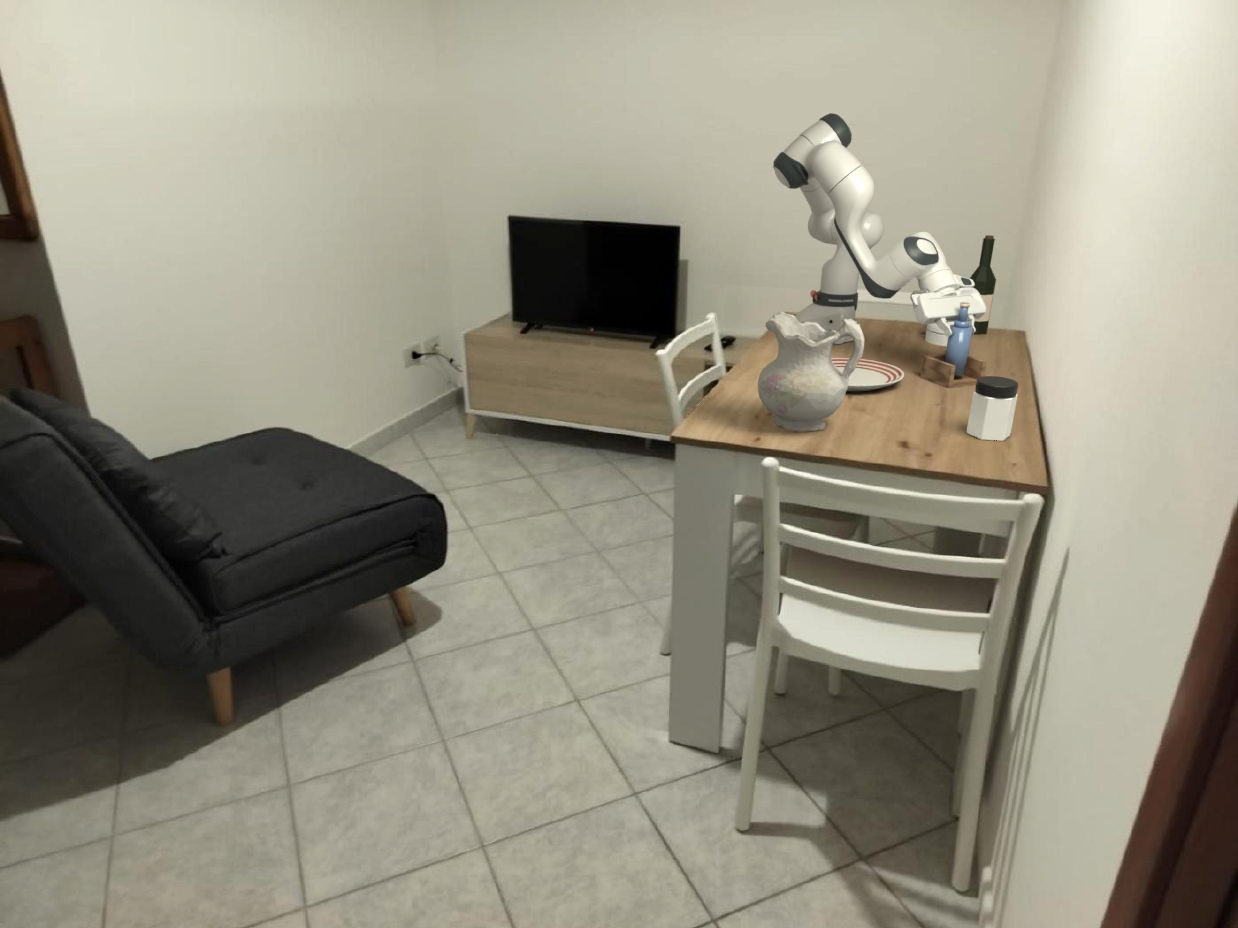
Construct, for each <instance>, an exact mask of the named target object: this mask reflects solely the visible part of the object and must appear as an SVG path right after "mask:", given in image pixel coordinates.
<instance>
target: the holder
mask: <svg viewBox="0 0 1238 928" xmlns="http://www.w3.org/2000/svg"><path fill="white" fill-rule="evenodd" d="M945 355H946V352H944V353H939V354H938V353H937V354H931V355H924V356H922V363H921V370H920V378H921V379H923V380H926V381H928V382H930V383H933V384H936V385H939V386H941V387H944V388H947V389H954V388H959V387H960V386H961V387H967V385H968V386H972V385H973V386H974V384H975V385H976V383H977V379H978V378H980V377H984V376H986V369H987V361H986V360H984V359H983V360H982V359H981V358H976V357H973V356H971V355H968V359H967V365H966V371H965V374H964V375H954V373H955V367H956V366H955V365H952V364H949V363H946V362H944V361H945ZM953 387H954V388H953ZM961 387H960V388H961Z"/></svg>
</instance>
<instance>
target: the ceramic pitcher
mask: <svg viewBox="0 0 1238 928" xmlns="http://www.w3.org/2000/svg"><path fill="white" fill-rule="evenodd" d="M842 321H843V324H842V326H841V327H840V329H839V330H838V331H837V332H836V331H834V330H832V331H825V329H823V328H822V327H821V326H820V325H819V324H818V323H816V322H802V323H800V322H798V320H797V319H796V317H795V315H794V314H789V313H786V312H785V311H781V312H780V311H779V312H777V313H774V314H773V315H772V317H770V318H769V320H767V321H766V323H765V327H766V329H767V330H768V331H770V332H771V333H772V334H773V335H774V336H775V337H776V339H777V340H776V341H777V343H778V344H777V346H778V349H777V350H778V351H777V356H776V358H775V359H774V360H773V361H771V362H769V363H768V364H766V366H764V367H763V368H762V369H761V371H760V373H759V376H758V380H757V392H758V397H759V400H760V401H761V403H762V405H763V406H764V408H765V409H766V410H767V411H768V412H769V413H770V414H772V415H773V423H774V425H775V426H776V427H778V428H780V429H782V430H786V431H790V432H793V433H800V432H803V433H804V432H815V431H821V430H822V431H823V430H824V429H825V427H826V425H827V423H826V422H825V421H824V419H827V418H829V417H831V416H832V415H833V414H835V412H836V411H837V410H839V408H840V407H841V405H842V403H843V402H844V400H845V396H846V392H848V391H847V388H848V381H849V376H850V374H851V373H852V372H853V371H854V370H855V368H856V366H857V364H858V363H859V361H860V359H862V357H863V354H864V348H865V335H864V333H863V331H862V328H861V323H860V322H858V319H857V318H855V319H853V318H852V319H844V320H842ZM847 336H850V337H852V338H853V339H854V340H853V351H852V353H851V355H850V356H849V360H848V361H847V363H846V366H845V368H844V370H843V373H842V372H841V371H840V369H839V368H837V367H836V366H835V365H834V364H833V363H832V360H831V358H832V350H833V347H834V343H835V342H837V341H839V340H840V339H841V338H843V337H847Z"/></svg>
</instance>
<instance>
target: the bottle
mask: <svg viewBox="0 0 1238 928" xmlns="http://www.w3.org/2000/svg"><path fill="white" fill-rule="evenodd" d="M959 306H960V311H959V317H958V319H957V320H955V321H954V325H950V327H953V329H954V331H955V334H954V335H953V336H949V337H948V342H947V346H946V350H945V353H946V355H945V361H944V362H946V363H949V364H952V365H955V366H956V367H955V373H954V375H964V374H965V371H966V365H967V359H968V356H969V352H970V346H971V339H972V335H973V334H972V329H973V327H971V326H969V323H970V321H968V320H967V314H968V308H969V307H970V303H966V302H961V303H960V305H959Z"/></svg>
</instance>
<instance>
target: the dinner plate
mask: <svg viewBox="0 0 1238 928" xmlns="http://www.w3.org/2000/svg"><path fill="white" fill-rule="evenodd" d="M849 358H850V357H849ZM849 358H846V357H831V360H832V363H833V364H834V365H835V366H836V367H837V368H839V369H840V371H841V372H842V373H843V370H844V368H845V366H846V363H847V361H848V360H849ZM904 377H905V372H904V371H903V370H902V369H901V368H899V367H897V366H895V365H893V364H889V363H885V362H881V361H876V360H871V359H863V358H861V359H860V361H859V363H858V364H857V366H856V368H855V370H854V371H853V372H852V373H851V374H850V376H849V381H848V388H847V391H846V392H867V391H874V390H878V389H881V388H884V387H888V386H892V385H894V384H896V383H899V382H900V381H902V380H903V379H904Z"/></svg>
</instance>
